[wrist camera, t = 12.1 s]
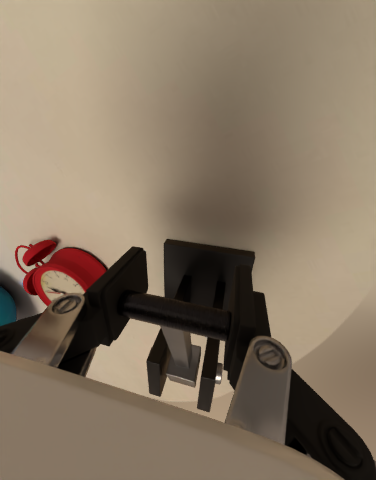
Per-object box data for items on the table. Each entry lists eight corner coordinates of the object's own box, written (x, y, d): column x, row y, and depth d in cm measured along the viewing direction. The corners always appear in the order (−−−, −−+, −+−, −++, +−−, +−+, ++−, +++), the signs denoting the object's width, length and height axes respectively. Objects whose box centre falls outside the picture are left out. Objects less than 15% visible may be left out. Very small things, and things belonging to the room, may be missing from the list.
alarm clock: (98, 335, 29) (-14, 305, 26) (113, 302, 34) (22, 274, 31) (113, 290, 23) (-24, 247, 21) (129, 259, 29) (21, 221, 26)
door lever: (130, 274, 9) (105, 322, 8) (234, 294, 8) (228, 353, 7) (163, 345, 18) (154, 375, 17) (216, 359, 17) (212, 392, 16)
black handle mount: (167, 238, 23) (107, 315, 13) (254, 252, 21) (268, 355, 11) (167, 311, 28) (126, 407, 18) (236, 327, 26) (235, 444, 16)
